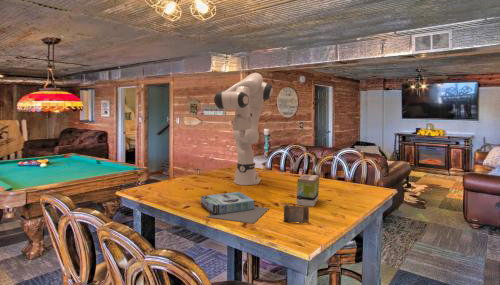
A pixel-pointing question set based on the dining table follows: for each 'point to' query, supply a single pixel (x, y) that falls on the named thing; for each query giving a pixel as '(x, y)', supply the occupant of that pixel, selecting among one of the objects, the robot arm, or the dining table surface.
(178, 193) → the dining table surface
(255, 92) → the robot arm
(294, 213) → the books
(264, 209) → the mat
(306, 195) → the tea box
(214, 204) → the gum box
